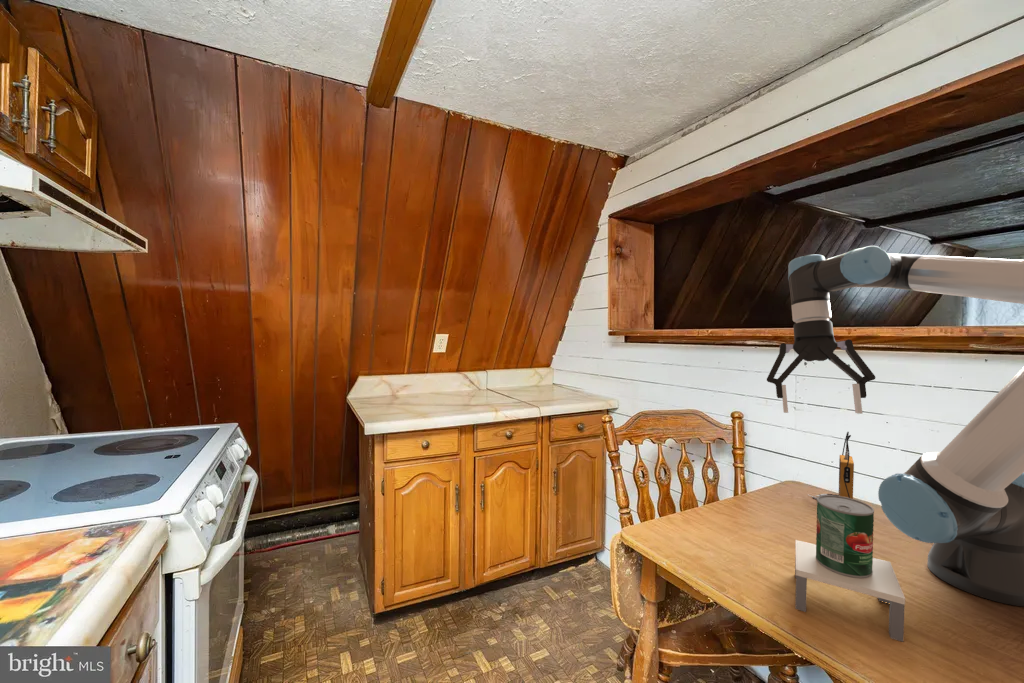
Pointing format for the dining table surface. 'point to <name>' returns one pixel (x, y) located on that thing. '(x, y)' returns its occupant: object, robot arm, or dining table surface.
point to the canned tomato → (845, 536)
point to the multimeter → (845, 473)
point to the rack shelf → (852, 584)
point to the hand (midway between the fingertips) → (821, 413)
